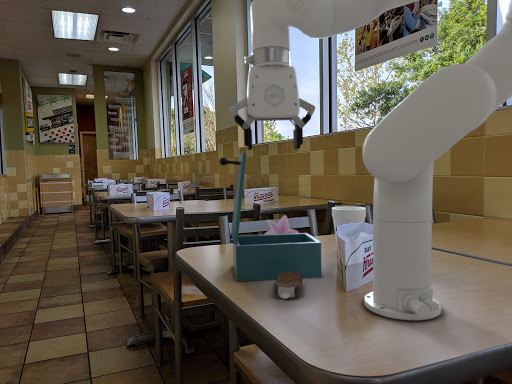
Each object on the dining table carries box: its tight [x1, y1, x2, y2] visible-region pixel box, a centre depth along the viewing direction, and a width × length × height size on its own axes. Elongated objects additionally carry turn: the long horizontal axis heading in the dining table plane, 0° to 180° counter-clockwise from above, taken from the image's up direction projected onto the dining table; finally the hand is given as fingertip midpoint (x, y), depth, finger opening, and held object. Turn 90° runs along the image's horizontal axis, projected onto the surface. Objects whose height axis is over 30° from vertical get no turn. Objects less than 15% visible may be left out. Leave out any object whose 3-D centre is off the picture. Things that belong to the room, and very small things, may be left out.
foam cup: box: [331, 205, 367, 245], centre depth 108 cm, size 10×9×13 cm
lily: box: [263, 214, 300, 235], centre depth 116 cm, size 12×12×10 cm
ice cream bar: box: [273, 271, 303, 300], centre depth 75 cm, size 5×15×3 cm, turn 169°
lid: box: [218, 152, 248, 244], centre depth 89 cm, size 20×13×6 cm
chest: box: [232, 232, 323, 282], centre depth 91 cm, size 19×13×8 cm, turn 97°
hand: (273, 149), depth 76 cm, fingers open, 9 cm apart
